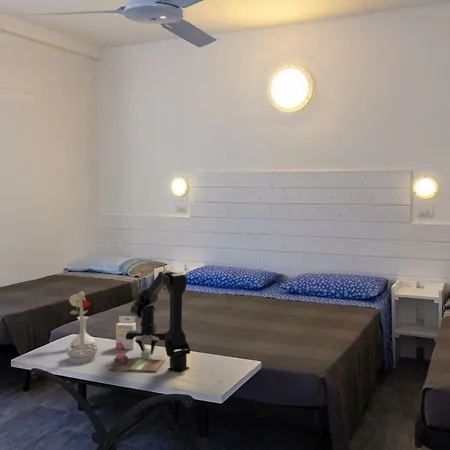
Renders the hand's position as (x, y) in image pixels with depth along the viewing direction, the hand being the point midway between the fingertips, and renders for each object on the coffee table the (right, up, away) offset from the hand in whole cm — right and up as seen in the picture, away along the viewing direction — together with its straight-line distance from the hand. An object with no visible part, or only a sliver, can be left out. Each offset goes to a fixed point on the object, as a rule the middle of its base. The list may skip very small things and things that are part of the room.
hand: (148, 354), depth 251 cm
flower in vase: (-34, 0, +19) cm, 39 cm away
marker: (0, -1, 0) cm, 1 cm away
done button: (-10, +1, -13) cm, 16 cm away
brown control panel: (-3, -2, -14) cm, 14 cm away
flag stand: (-29, -2, -3) cm, 29 cm away
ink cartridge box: (-12, -1, +15) cm, 19 cm away
